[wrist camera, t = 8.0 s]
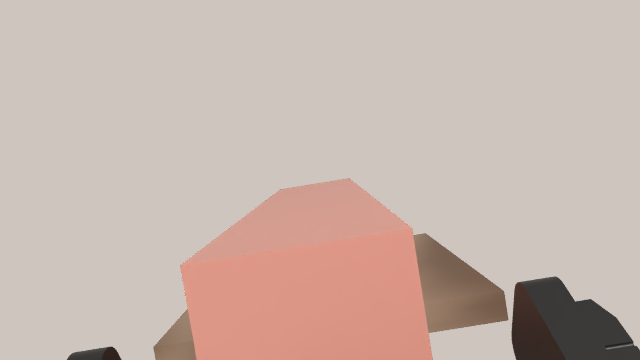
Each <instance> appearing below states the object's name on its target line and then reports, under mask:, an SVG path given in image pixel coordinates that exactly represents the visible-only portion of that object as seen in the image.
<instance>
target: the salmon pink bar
mask: <svg viewBox="0 0 640 360" xmlns="http://www.w3.org/2000/svg"><path fill="white" fill-rule="evenodd" d="M180 267H181V273H182V279H183V284H184V290H185V296H186V301H187V307H188V313H189V319H190V324H191V330H192V336H193V342H194V347H195V353H196V359H197V360H433V358H432V353H431V346H430V339H429V333H428V326H427V320H426V314H425V307H424V301H423V294H422V288H421V282H420V275H419V269H418V263H417V256H416V250H415V243H414V237H413V231H412V228H411V227H410V226H409V225H408V224H406V223H405V222H404V221H403V220H401V219H400V218H399V217H397V216H396V215H395V214H394V213H392V212H391V211H390V210H389V209H387V208H386V207H385V206H383V205H382V204H381V203H380V202H378V201H377V200H376V199H374V198H373V197H372V196H371V195H370V194H368V193H367V192H366V191H364V190H363V189H362V188H361V187H359V186H358V185H357V184H356V183H354V182H353V181H352V180H351V179H349V178H348V179H342V180H336V181H330V182H323V183H317V184H311V185H305V186H299V187H293V188H286V189H280V190H279V191H278V192H276V193H275V194H274V195H272V196H271V197H270V198H268V199H267V200H266V201H264V202H263V203H262V204H260V205H259V206H258V207H257V208H255V209H254V210H253V211H251V212H250V213H249V214H247V215H246V216H245V217H243V218H242V219H241V220H239V221H238V222H237V223H235V224H234V225H233V226H231V227H230V228H229V229H228V230H226V231H225V232H224V233H222V234H221V235H220V236H218V237H217V238H216V239H214V240H213V241H212V242H211V243H209V244H208V245H206V246H205V247H204V248H203V249H201V250H200V251H199V252H198V253H196V254H195V255H193V256H192V257H191V258H189V259H188V260H187V261H185V262H184V263H183V264H182V265H181V266H180Z"/></svg>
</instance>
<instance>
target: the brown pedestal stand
mask: <svg viewBox="0 0 640 360" xmlns="http://www.w3.org/2000/svg"><path fill="white" fill-rule="evenodd" d="M413 237H414V243H415V250H416V256H417V263H418V269H419V275H420V282H421V288H422V294H423V301H424V307H425V314H426V320H427V326H428V333H430V332H437V331H443V330H449V329H455V328H463V327H469V326H475V325H481V324H488V323H494V322H500V321H507V320H508V315H507V308H506V301H505V295H504V291H503V290H501V289H500V288H499V287H498V286H496V285H495V284H493V283H492V282H491V281H489V280H488V279H487V278H485V277H484V276H483V275H481V274H480V273H479V272H477V271H476V270H474V269H473V268H472V267H470V266H469V265H468V264H466V263H465V262H464V261H462V260H461V259H459V258H458V257H457V256H456V255H454V254H453V253H451V252H450V251H449V250H447V249H446V248H445V247H443V246H442V245H440V244H439V243H438V242H437V241H435V240H434V239H432V238H431V237H430V236H428V235H427V234H419V235H413ZM154 352H155V358H156V360H197V359H196V353H195V347H194V342H193V336H192V330H191V324H190V319H189V313H188V309H187V310H186V311H185V312H184V314H183V315H182V316H181V317H180V318H179V319H178V320H177V321H176V323H175V324H174V325H173V326H172V327H171V328H170V329H169V330H168V332H167V333H166V334H165V335H164V336H163V337H162V338H161V339H160V340H159V342H158V343H157V344H156V345H155V346H154Z"/></svg>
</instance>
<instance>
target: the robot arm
mask: <svg viewBox="0 0 640 360" xmlns="http://www.w3.org/2000/svg"><path fill="white" fill-rule="evenodd" d="M513 307H514V308H513V322H512V344H513V349H514V353H515V356H516V360H640V350H639V349H638V347H637V346H634V344H633V341H632V339H631V337H630V336H629V335H628V333H627V332H626V331H625V329H624V328H623V326H622V325H621V324H620V322H619V321H618V319H617V318H616V317H615V316H613V315H612V314H610V313H609V312H608V311H606V310H605V309H603V308H602V307H601V306H599V305H598V304H597V303H595V302H594V301H593V300H591V299H589V300H582V301H576V302H575V301H574V299H573V297H572V296H571V295H570V293H569V291H568V290H567V288H566V287H565V285H564V284H563V282H562V281H561V280H560V279H559V278H558V277H549V278H543V279H536V280H530V281H524V282H518V283H517V284H516V286H515V292H514V306H513ZM67 360H121V358H120V356H119V354H118V352H117V351H116V350H115V348H113V347H106V348H99V349H93V350H87V351H81V352H75V353H72V354H71V355H70V356H69V357H68V359H67Z"/></svg>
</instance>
